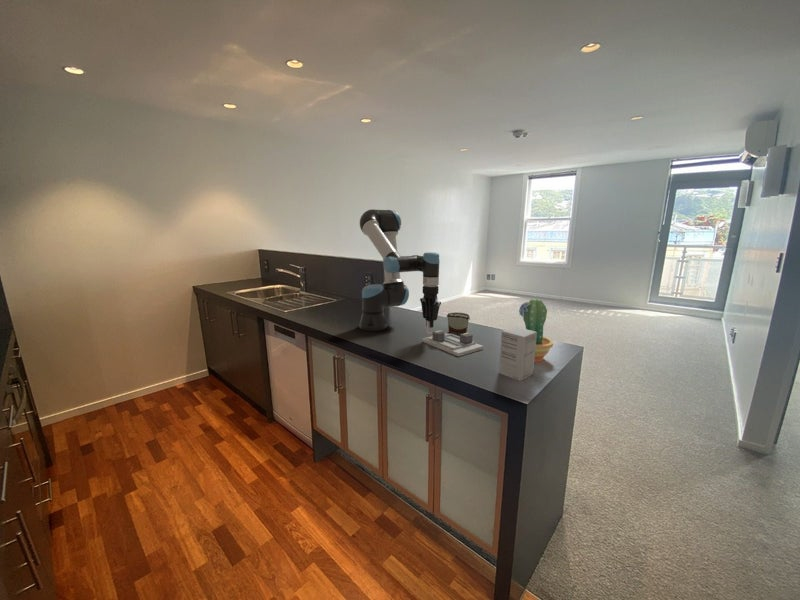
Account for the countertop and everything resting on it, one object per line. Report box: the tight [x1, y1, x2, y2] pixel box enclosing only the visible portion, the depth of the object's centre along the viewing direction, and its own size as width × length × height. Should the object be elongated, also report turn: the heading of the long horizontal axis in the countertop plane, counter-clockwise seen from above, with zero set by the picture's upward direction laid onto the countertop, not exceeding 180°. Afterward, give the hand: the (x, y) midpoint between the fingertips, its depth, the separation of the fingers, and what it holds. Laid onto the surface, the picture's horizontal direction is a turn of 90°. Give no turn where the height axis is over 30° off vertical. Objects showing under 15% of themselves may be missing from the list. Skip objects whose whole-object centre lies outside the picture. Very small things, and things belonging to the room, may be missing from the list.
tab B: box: [459, 332, 473, 344], centre depth 154 cm, size 4×4×5 cm
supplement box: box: [498, 326, 537, 382], centre depth 124 cm, size 10×9×17 cm
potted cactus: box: [518, 298, 554, 363], centre depth 139 cm, size 15×15×25 cm
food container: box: [446, 311, 471, 335], centre depth 176 cm, size 12×6×10 cm, turn 65°
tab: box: [432, 329, 446, 342], centre depth 158 cm, size 4×4×5 cm
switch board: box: [422, 332, 484, 357], centre depth 156 cm, size 24×16×2 cm, turn 36°
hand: (429, 333), depth 163 cm, fingers closed
